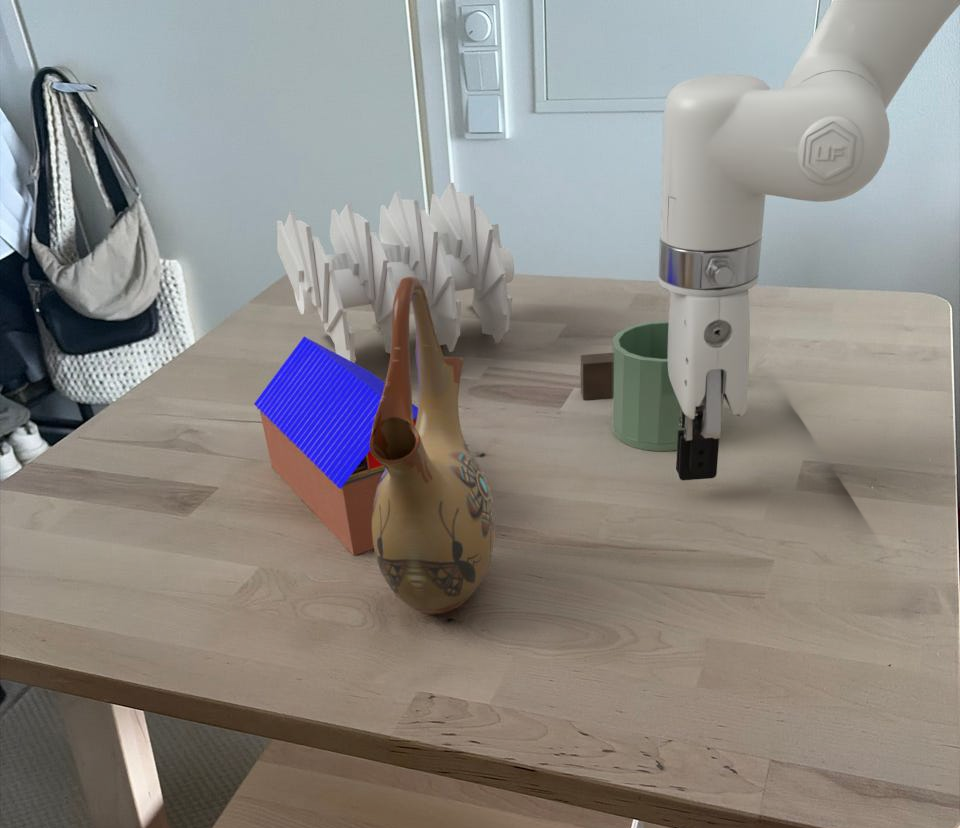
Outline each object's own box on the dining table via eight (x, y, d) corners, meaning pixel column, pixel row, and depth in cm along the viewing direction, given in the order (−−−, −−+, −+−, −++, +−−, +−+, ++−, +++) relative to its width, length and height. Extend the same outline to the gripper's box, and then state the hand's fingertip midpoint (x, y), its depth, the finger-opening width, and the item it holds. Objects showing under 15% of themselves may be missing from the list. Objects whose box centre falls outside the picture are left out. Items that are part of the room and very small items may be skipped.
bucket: (704, 404, 105) (710, 317, 100) (720, 448, 97) (728, 357, 92) (607, 409, 106) (608, 323, 100) (616, 453, 98) (618, 363, 92)
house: (351, 558, 86) (330, 431, 79) (267, 467, 100) (242, 352, 93) (475, 514, 91) (465, 390, 84) (377, 433, 105) (362, 321, 98)
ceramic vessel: (477, 664, 74) (448, 326, 59) (357, 656, 76) (298, 325, 61) (515, 542, 87) (499, 237, 71) (412, 537, 88) (374, 238, 73)
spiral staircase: (522, 375, 124) (321, 413, 116) (469, 274, 131) (277, 303, 123) (556, 251, 108) (326, 285, 100) (493, 144, 115) (274, 168, 107)
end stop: (711, 380, 110) (714, 344, 107) (716, 390, 108) (719, 353, 105) (580, 390, 110) (580, 354, 107) (583, 400, 108) (583, 363, 105)
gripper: (783, 290, 72) (759, 515, 83) (736, 228, 84) (721, 433, 95) (676, 299, 73) (667, 522, 84) (644, 236, 84) (640, 439, 96)
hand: (695, 474), depth 90 cm, fingers closed
